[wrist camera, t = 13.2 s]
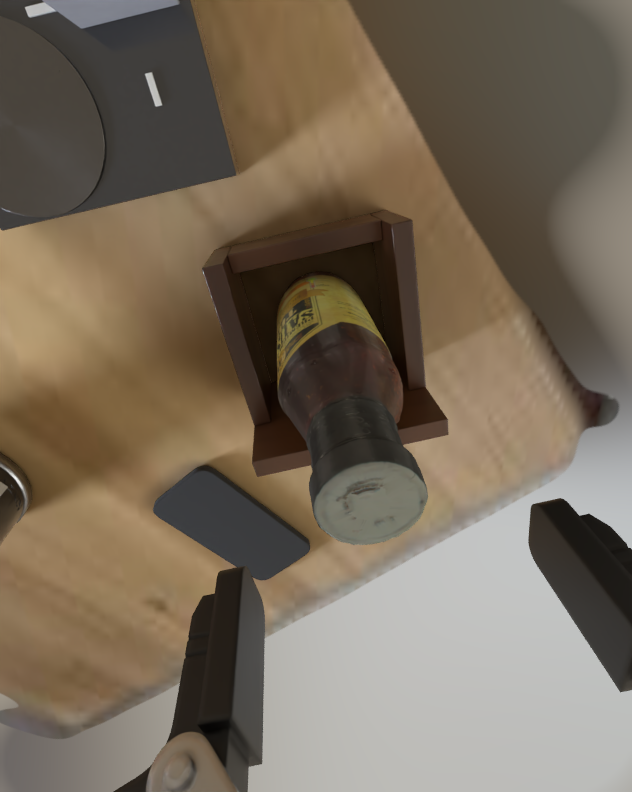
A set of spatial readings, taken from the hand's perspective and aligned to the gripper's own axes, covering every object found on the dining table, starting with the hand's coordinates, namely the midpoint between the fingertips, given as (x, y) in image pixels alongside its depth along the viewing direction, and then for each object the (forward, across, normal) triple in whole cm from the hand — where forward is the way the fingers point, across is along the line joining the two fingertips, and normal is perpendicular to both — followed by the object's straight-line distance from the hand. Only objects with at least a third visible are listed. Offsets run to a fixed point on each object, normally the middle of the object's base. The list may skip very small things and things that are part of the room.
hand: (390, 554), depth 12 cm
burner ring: (+19, +13, -14) cm, 28 cm away
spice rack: (+22, 0, 0) cm, 22 cm away
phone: (+22, +12, +19) cm, 32 cm away
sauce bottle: (+22, 0, 0) cm, 23 cm away
